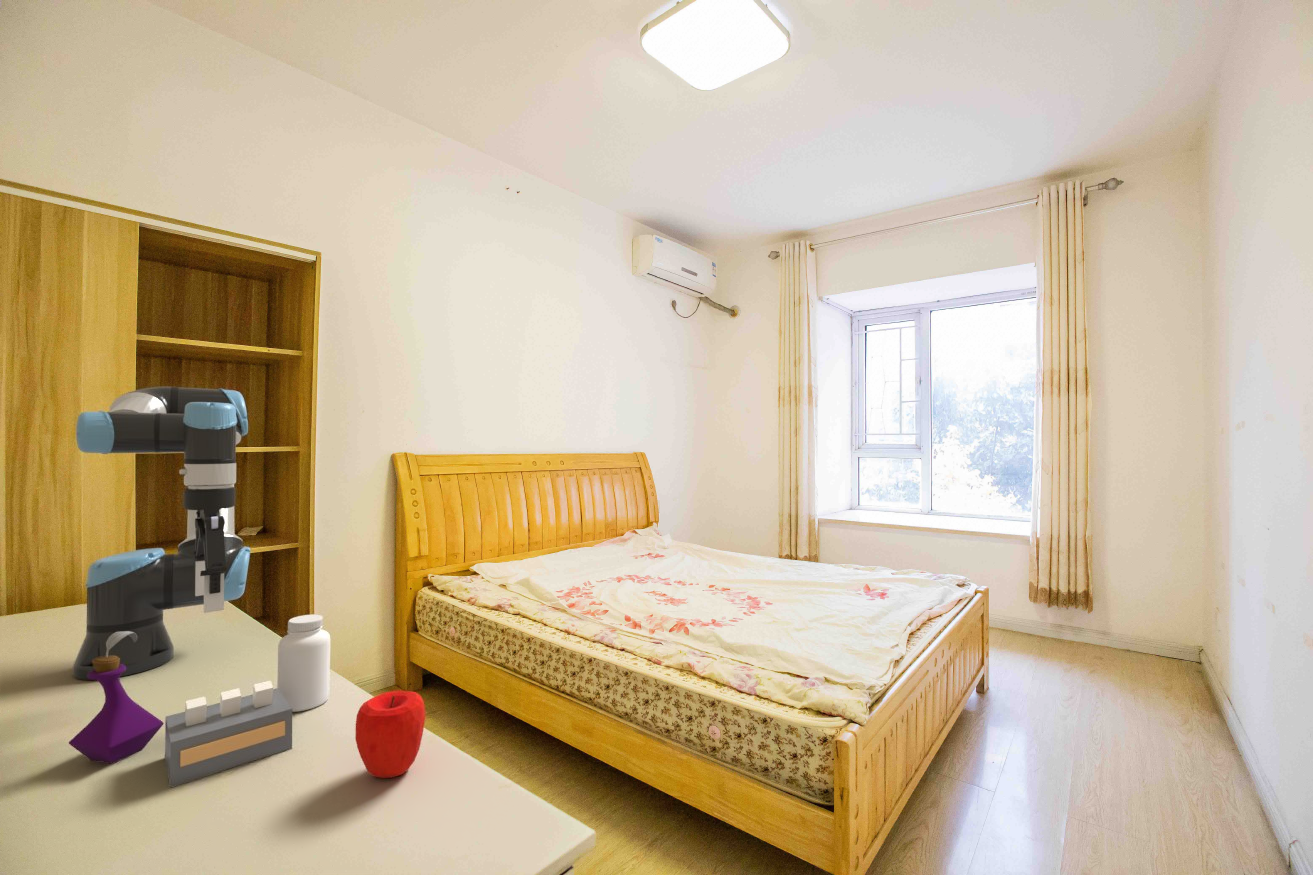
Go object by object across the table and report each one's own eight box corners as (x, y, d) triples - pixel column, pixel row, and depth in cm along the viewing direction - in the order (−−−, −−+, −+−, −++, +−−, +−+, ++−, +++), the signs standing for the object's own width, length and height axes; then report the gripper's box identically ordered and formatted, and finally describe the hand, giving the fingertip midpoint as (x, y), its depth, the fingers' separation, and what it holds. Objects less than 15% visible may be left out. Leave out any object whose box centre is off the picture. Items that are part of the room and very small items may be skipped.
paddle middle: (219, 708, 84) (220, 692, 84) (238, 704, 86) (239, 687, 85) (221, 717, 83) (222, 700, 82) (240, 712, 84) (241, 695, 84)
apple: (355, 799, 73) (356, 715, 73) (354, 765, 81) (355, 689, 81) (428, 780, 77) (429, 701, 77) (421, 749, 85) (421, 677, 85)
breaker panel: (165, 757, 83) (165, 716, 83) (277, 724, 93) (278, 687, 93) (170, 788, 75) (171, 743, 75) (292, 749, 85) (293, 709, 85)
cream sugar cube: (252, 700, 87) (253, 684, 86) (269, 696, 88) (270, 680, 88) (254, 708, 85) (255, 691, 85) (272, 703, 87) (273, 687, 86)
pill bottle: (340, 696, 103) (341, 614, 103) (299, 716, 95) (300, 627, 95) (308, 690, 105) (308, 610, 106) (265, 709, 98) (266, 622, 98)
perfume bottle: (108, 771, 79) (110, 643, 79) (67, 765, 81) (69, 639, 81) (164, 743, 87) (165, 626, 87) (126, 738, 88) (127, 623, 88)
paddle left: (185, 718, 81) (185, 700, 81) (204, 713, 83) (205, 696, 82) (186, 726, 80) (187, 709, 79) (206, 721, 81) (206, 704, 81)
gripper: (177, 482, 110) (176, 591, 110) (190, 493, 92) (189, 623, 92) (225, 481, 115) (224, 585, 115) (247, 490, 97) (245, 614, 97)
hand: (208, 602), depth 103 cm, fingers open, 13 cm apart
